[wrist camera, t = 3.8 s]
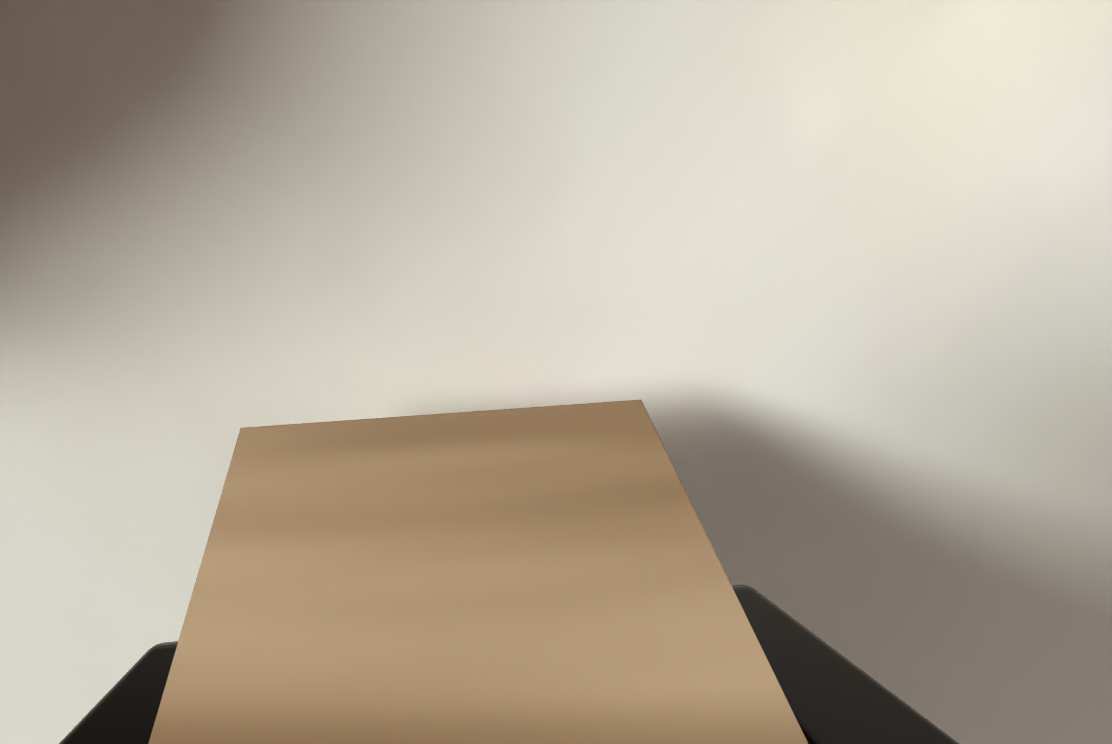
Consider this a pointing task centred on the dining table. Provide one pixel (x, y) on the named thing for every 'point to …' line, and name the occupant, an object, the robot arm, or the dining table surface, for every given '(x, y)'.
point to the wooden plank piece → (465, 592)
